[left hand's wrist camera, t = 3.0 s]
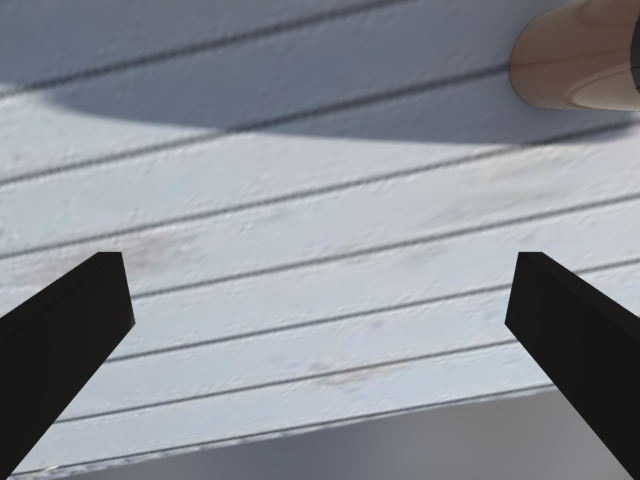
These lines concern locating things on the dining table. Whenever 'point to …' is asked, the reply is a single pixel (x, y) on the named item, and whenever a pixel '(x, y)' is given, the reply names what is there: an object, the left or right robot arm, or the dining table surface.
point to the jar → (578, 57)
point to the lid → (635, 55)
